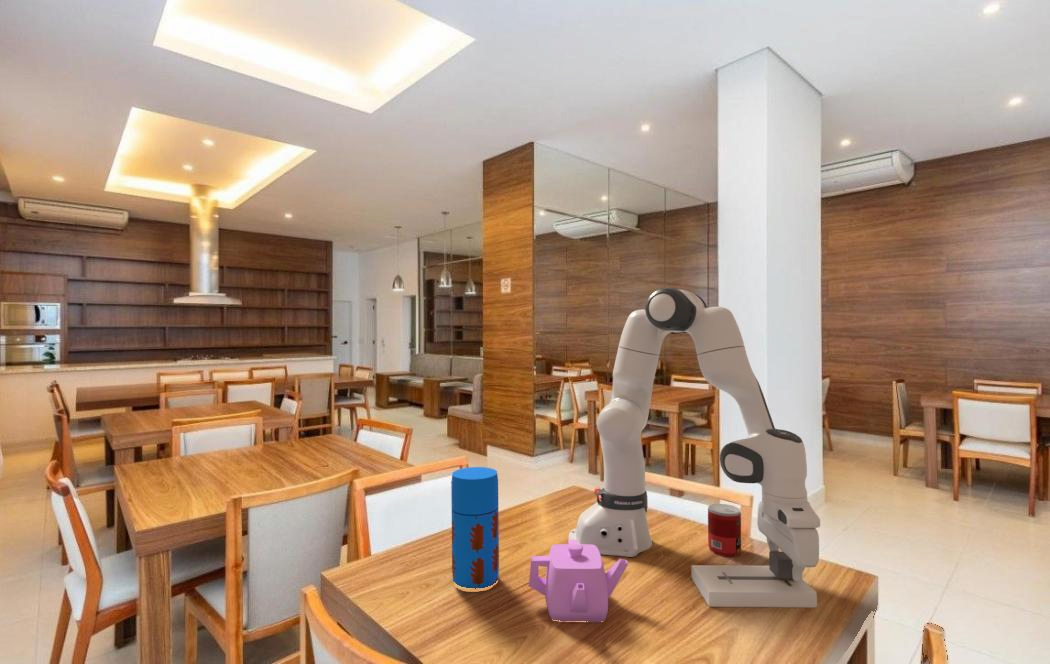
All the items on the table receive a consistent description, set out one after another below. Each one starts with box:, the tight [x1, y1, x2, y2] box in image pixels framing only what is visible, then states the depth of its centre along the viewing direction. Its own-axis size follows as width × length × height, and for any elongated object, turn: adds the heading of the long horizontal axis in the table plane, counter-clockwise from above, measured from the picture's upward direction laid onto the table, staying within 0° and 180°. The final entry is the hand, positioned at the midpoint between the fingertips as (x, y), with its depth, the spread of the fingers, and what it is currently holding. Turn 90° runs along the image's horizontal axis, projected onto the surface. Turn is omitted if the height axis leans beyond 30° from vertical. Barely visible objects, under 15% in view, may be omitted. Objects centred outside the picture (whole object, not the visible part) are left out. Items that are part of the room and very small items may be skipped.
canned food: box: [707, 503, 742, 558], centre depth 130 cm, size 8×8×11 cm
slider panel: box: [691, 564, 818, 608], centre depth 109 cm, size 22×12×3 cm, turn 88°
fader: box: [768, 551, 793, 578], centre depth 108 cm, size 5×4×5 cm
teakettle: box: [528, 538, 629, 623], centre depth 104 cm, size 17×17×12 cm
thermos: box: [450, 466, 500, 589], centre depth 115 cm, size 11×11×25 cm
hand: (785, 568), depth 108 cm, fingers open, 8 cm apart
